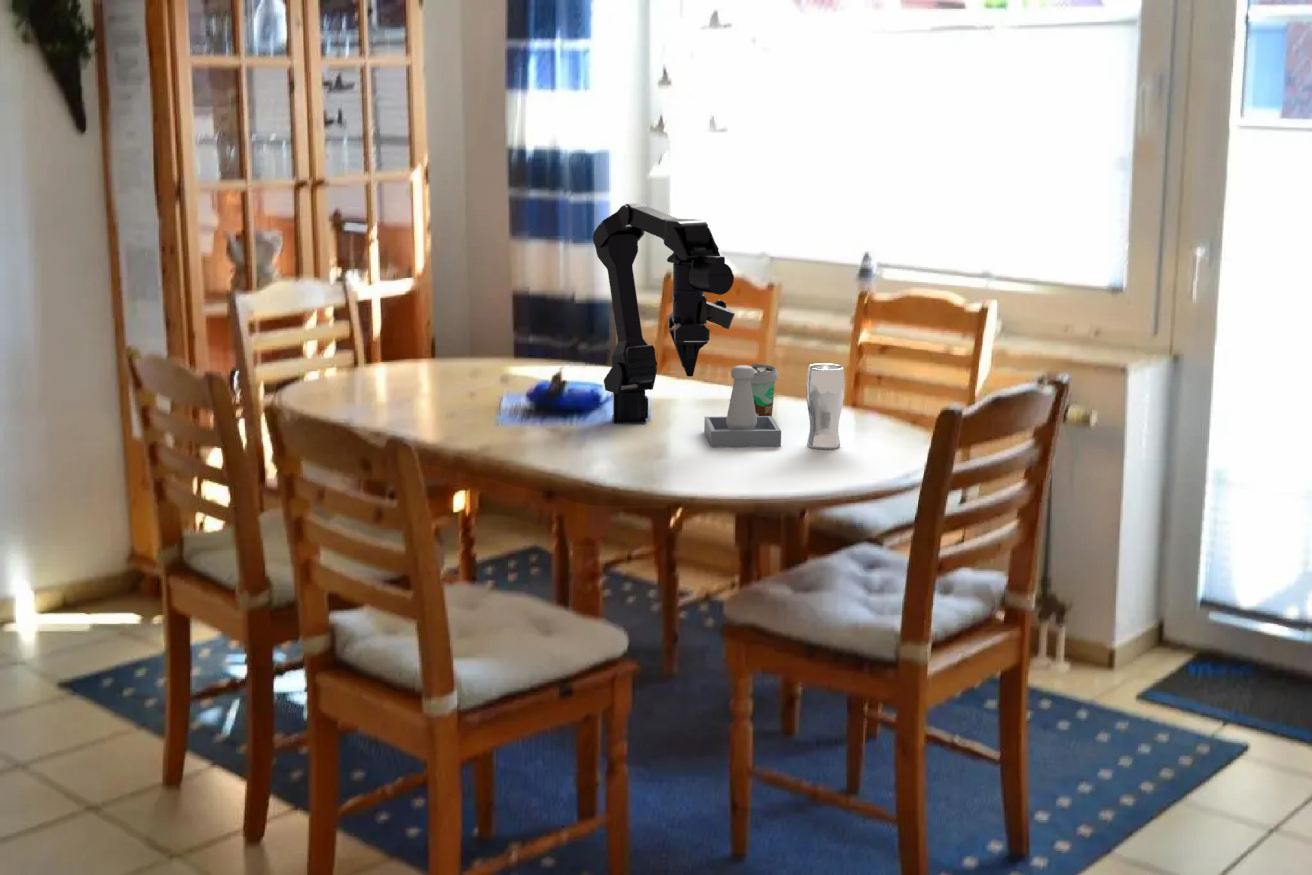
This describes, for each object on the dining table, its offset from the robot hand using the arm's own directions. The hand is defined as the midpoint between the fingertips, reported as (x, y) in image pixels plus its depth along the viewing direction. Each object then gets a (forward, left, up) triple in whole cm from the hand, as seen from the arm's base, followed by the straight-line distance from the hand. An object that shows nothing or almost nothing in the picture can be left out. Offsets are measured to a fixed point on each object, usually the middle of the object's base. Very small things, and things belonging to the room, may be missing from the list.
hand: (687, 371), depth 293 cm
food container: (+17, +19, -13) cm, 29 cm away
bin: (+10, 0, -13) cm, 17 cm away
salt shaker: (+10, 0, -12) cm, 16 cm away
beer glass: (+25, -7, -13) cm, 29 cm away
